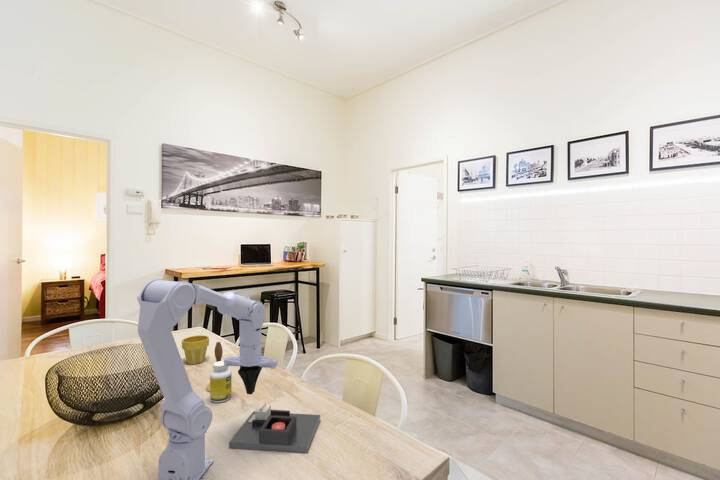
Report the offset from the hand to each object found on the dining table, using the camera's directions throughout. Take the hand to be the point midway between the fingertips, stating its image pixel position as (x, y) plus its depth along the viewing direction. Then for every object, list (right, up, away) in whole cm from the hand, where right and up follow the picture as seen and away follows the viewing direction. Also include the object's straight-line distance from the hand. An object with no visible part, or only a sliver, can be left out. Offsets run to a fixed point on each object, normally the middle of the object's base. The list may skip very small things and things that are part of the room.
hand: (250, 392), depth 95 cm
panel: (+8, -10, -2) cm, 13 cm away
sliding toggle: (+3, -8, +2) cm, 9 cm away
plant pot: (-39, -9, +50) cm, 64 cm away
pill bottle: (-15, -10, +17) cm, 25 cm away
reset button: (+9, -8, -6) cm, 14 cm away
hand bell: (-19, -10, +26) cm, 34 cm away
